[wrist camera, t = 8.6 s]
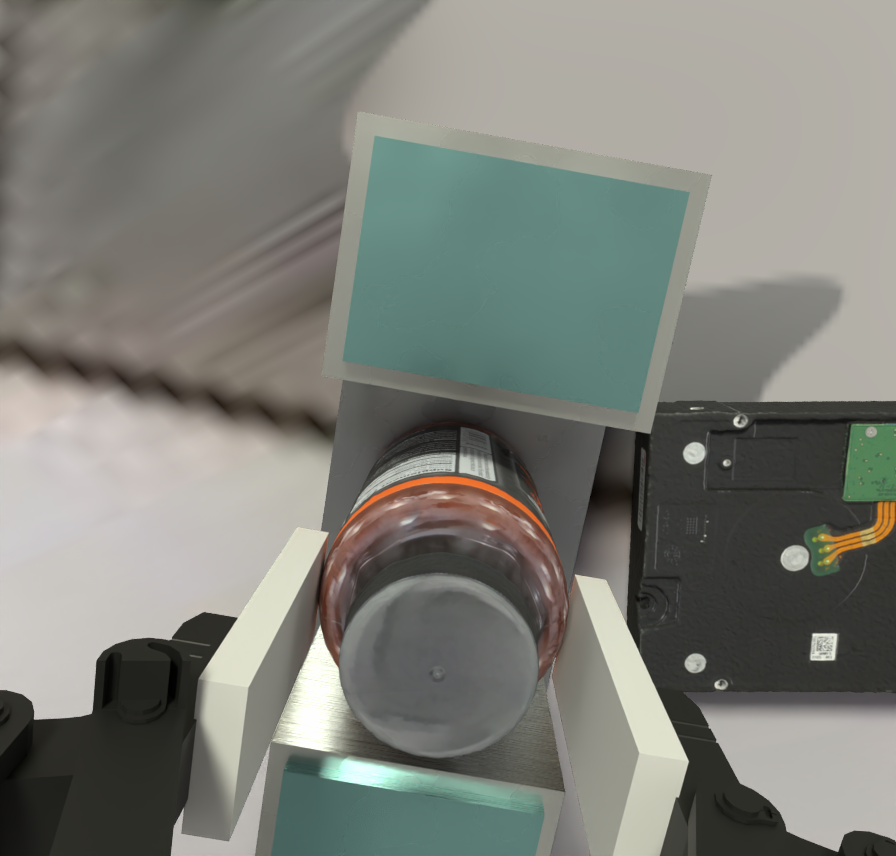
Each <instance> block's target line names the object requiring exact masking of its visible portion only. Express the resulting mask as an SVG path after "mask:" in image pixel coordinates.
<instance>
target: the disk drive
mask: <svg viewBox="0 0 896 856" xmlns="http://www.w3.org/2000/svg"><path fill="white" fill-rule="evenodd" d="M636 434H637V435H636V441H635V443H636V450H635V462H634V487H633V502H632V518H631V543H630V564H629V584H628V606H627V617H628V620H627V627H628V629H629V631H630V633H631V636H632V638H633V640H634V642H635V644H636V647H637V649H638V651H639V653H640V655H641V658H642V660H643V662H644V664H645V666H646V669H647V671H648V673H649V675H650V677H651V680H652V682H653V684H654V686H655V687H661V688H667V689H673V690H679V691H682V692H713V691H715V690H720V691H737V692H741V691H742V692H756V691H765V692H768V691H773V692H780V691H789V692H797V691H800V692H833V691H836V692H847V691H851V692H875V693H876V692H882V691H884V692H892V693H896V401H863V402H862V401H848V402H847V401H822V402H819V401H812V402H808V401H807V402H806V401H804V402H760V403H759V402H716V401H676V402H674V403H671V402H669V403H668V402H658V404H657V408H656V412H655V416H654V421H653V425H652V429H651V433H650V434H649V433H643V432H637V431H636Z"/></svg>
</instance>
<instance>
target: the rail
mask: <svg viewBox="0 0 896 856" xmlns="http://www.w3.org/2000/svg"><path fill="white" fill-rule="evenodd" d="M711 176H712V175H708V174H703V173H698V172H692V171H687V170H681V169H676V168H670V167H664V166H659V165H653V164H648V163H642V162H636V161H631V160H626V159H620V158H614V157H609V156H603V155H597V154H592V153H586V152H581V151H575V150H569V149H564V148H559V147H553V146H548V145H541V144H536V143H531V142H525V141H520V140H514V139H509V138H503V137H497V136H492V135H486V134H480V133H475V132H470V131H464V130H459V129H453V128H448V127H442V126H436V125H431V124H425V123H420V122H414V121H408V120H403V119H397V118H391V117H386V116H381V115H375V114H370V113H364V112H358V116H357V124H356V131H355V138H354V145H353V152H352V159H351V167H350V174H349V181H348V188H347V196H346V203H345V210H344V217H343V224H342V232H341V239H340V246H339V253H338V261H337V268H336V275H335V282H334V289H333V297H332V304H331V311H330V318H329V326H328V333H327V340H326V347H325V354H324V362H323V369H322V376H325V377H331V378H336V379H342V380H343V383H342V390H341V397H340V404H339V411H338V418H337V425H336V432H335V439H334V446H333V452H332V459H331V466H330V473H329V480H328V487H327V494H326V501H325V508H324V515H323V522H322V528H321V531H323V532H329V536H328V542H327V549H326V556H325V562H326V559H327V557H328V554H329V552H330V550H331V548H332V546H333V544H334V542H335V540H336V537H337V535H338V532H339V530H340V529H341V527H342V525H343V523H344V521H345V519H346V517H347V515H348V513H349V511H350V509H351V507H352V505H353V504H354V502H355V499H356V498H357V496H358V494H359V492H360V490H361V488H362V486H363V484H364V482H365V480H366V478H367V476H368V474H369V472H370V470H371V469H372V467H373V466H374V464H375V462H376V461H377V460H378V459H379V457H380V455H381V454H382V453H383V452H384V451H385V450H386V449H387V448H388V447H389V446H390V445H391V444H392V443H394V442H395V441H396V440H397V439H399V438H400V437H402V436H403V435H405V434H407V433H408V432H410V431H412V430H414V429H417V428H420V427H423V426H426V425H430V424H435V423H443V422H455V423H463V424H468V425H473V426H476V427H479V428H481V429H484V430H486V431H488V432H491V433H493V434H494V435H496V436H497V437H499V438H501V439H502V440H504V441H505V442H506V443H507V444H508V445H509V446H510V447H511V448H512V449H513V450H514V451H515V452H516V453H517V454H518V456H519V457H520V459H521V460H522V462H523V463H524V464H525V466H526V468H527V470H528V472H529V473H530V475H531V477H532V479H533V482H534V484H535V486H536V488H537V493H538V496H539V499H540V501H541V505H542V509H543V511H544V515H545V518H546V519H547V522H548V525H549V528H550V531H551V533H552V537H553V539H554V542H555V545H556V549H557V551H558V555H559V559H560V561H561V564H562V567H563V570H564V574H565V578H566V582H567V593H569V588H570V584H571V579H572V575H573V570H574V566H575V561H576V557H577V552H578V548H579V543H580V539H581V534H582V530H583V526H584V521H585V517H586V512H587V508H588V503H589V499H590V494H591V490H592V485H593V481H594V476H595V472H596V468H597V463H598V459H599V454H600V450H601V445H602V441H603V436H604V432H605V427H606V426H609V427H615V428H620V429H626V430H632V431H637V432H643V433H649V434H650V433H651V429H652V425H653V421H654V416H655V412H656V408H657V404H658V400H659V395H660V391H661V387H662V383H663V379H664V374H665V370H666V366H667V362H668V358H669V353H670V349H671V345H672V341H673V337H674V332H675V328H676V324H677V320H678V315H679V311H680V307H681V303H682V299H683V294H684V290H685V286H686V282H687V277H688V273H689V269H690V265H691V261H692V257H693V252H694V248H695V244H696V239H697V236H698V231H699V227H700V223H701V218H702V215H703V210H704V206H705V202H706V197H707V193H708V189H709V185H710V181H711ZM324 565H325V563H324ZM552 664H553V663H552ZM551 668H552V665H551V666H550V668H549V669H548V671H547V672H546V674H545V675H544V676H543V677H542V678H541V679H540V681H539V682H538V683H537V687H536V692H535V695H534V697H533V700H532V702H531V705H530V707H529V709H528V710H527V712H526V713H525V715H524V716H523V718H522V720H521V721H520V722H519V723H518V725H517V726H516V727H515V728H514V729H513V730H512V731H511V732H510V733H508V734H507V735H505V736H504V737H503V738H502V739H501V740H500V741H498V742H496V743H494V744H493V745H491V746H489V747H486V748H485V749H483V750H481V751H478V752H474V753H471V754H469V755H463V756H459V757H452V758H437V759H436V758H429V757H422V756H416V755H412V754H409V753H406V752H402V751H400V750H398V749H395V748H393V747H391V746H389V745H388V744H386V743H384V742H382V741H381V740H379V739H378V738H376V737H375V736H374V735H373V734H372V733H371V732H370V731H368V730H367V729H366V728H365V727H364V725H363V724H362V723H361V722H360V721H358V719H357V718H356V717H355V715H354V714H353V712H352V711H351V709H350V707H349V705H348V703H347V701H346V698H345V696H344V693H343V690H342V687H341V684H340V678H339V668H338V667H337V665H336V664H335V662H334V661H333V658H332V656H331V654H330V653H329V651H328V649H327V646H326V644H325V641H324V638H323V633H322V630H321V625H320V618H319V607H318V612H317V618H316V625H315V632H314V637H313V640H312V642H311V644H310V647H309V649H308V652H307V654H306V657H305V659H304V661H303V664H302V667H301V672H300V674H299V676H298V679H297V681H296V684H295V686H294V688H293V691H292V693H291V695H290V698H289V700H288V703H287V705H286V707H285V710H284V712H283V714H282V717H281V719H280V721H279V724H278V726H277V729H276V731H275V733H274V736H273V738H272V740H271V745H270V752H269V759H268V766H267V774H266V781H265V788H264V795H263V803H262V810H261V817H260V824H259V831H258V839H257V846H256V853H255V856H550V854H551V850H552V845H553V841H554V837H555V833H556V829H557V824H558V820H559V816H560V812H561V808H562V803H563V799H564V795H565V789H564V783H563V778H562V773H561V768H560V762H559V757H558V752H557V746H556V741H555V736H554V731H553V725H552V720H551V715H550V709H549V704H548V699H547V694H546V691H547V686H548V682H549V677H550V673H551Z"/></svg>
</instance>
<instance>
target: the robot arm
mask: <svg viewBox="0 0 896 856" xmlns="http://www.w3.org/2000/svg"><path fill="white" fill-rule="evenodd" d="M328 536H329V532H323V531H317V530H311V529H305V528H300V527H297V529H296V530H295V532H294V533H293V535H292V536H291V538H290V539H289V541H288V542H287V544H286V545H285V547H284V548H283V550H282V552H281V553H280V555H279V556H278V558H277V559H276V561H275V562H274V564H273V565H272V567H271V568H270V570H269V571H268V573H267V574H266V576H265V578H264V579H263V581H262V582H261V584H260V585H259V587H258V588H257V590H256V591H255V593H254V594H253V596H252V597H251V599H250V601H249V602H248V604H247V605H246V607H245V608H244V610H243V611H242V613H241V614H240V616H239V617H238V618H235V617H229V616H224V615H218V614H212V613H206V612H203V613H201V614H199V615H198V616H196V617H194V618H192V619H190V620H188V621H186V622H184V623H183V624H182V626H181V627H180V628H179V629H178V631H177V632H176V633H175V634H174V636H173V637H172V640H170V641H168V640H164V639H155V638H142V639H131V640H128V641H125V642H121V643H118V644H115V645H113V646H112V647H110V648H108V649H107V650H105V651H103V653H102V654H101V655H100V657H99V658H98V659H97V662H96V676H95V689H94V703H93V711H92V714H90V715H86V716H82V717H73V718H62V719H41V720H34V709H33V705H32V702H31V701H30V700H29V699H27V698H26V697H25V696H23V695H22V694H18V693H15V692H11V691H7V690H0V856H171V847H172V837H173V828H174V825H175V823H176V821H177V819H178V817H179V816H180V814H181V812H182V810H183V808H184V814H183V823H182V833H181V834H187V835H193V836H199V837H205V838H211V839H217V840H223V841H230V838H231V836H232V833H233V831H234V828H235V826H236V824H237V821H238V819H239V816H240V814H241V812H242V809H243V807H244V804H245V802H246V799H247V797H248V795H249V792H250V790H251V787H252V785H253V782H254V780H255V778H256V775H257V773H258V770H259V768H260V766H261V763H262V761H263V758H264V756H265V753H266V751H267V749H268V746H269V744H270V741H271V739H272V736H273V734H274V732H275V729H276V727H277V724H278V722H279V719H280V717H281V715H282V712H283V710H284V707H285V705H286V703H287V700H288V698H289V695H290V693H291V690H292V688H293V686H294V683H295V681H296V678H297V676H298V673H299V671H300V669H301V666H302V664H303V661H304V659H305V657H306V654H307V652H308V649H309V647H310V644H311V642H312V640H313V637H314V632H315V625H316V618H317V612H318V597H319V588H320V582H321V577H322V573H323V569H324V563H325V556H326V549H327V542H328ZM552 679H553V683H554V688H555V693H556V697H557V702H558V707H559V711H560V716H561V721H562V725H563V730H564V735H565V739H566V744H567V749H568V753H569V758H570V763H571V767H572V772H573V777H574V781H575V786H576V791H577V795H578V800H579V805H580V809H581V814H582V819H583V823H584V828H585V833H586V837H587V842H588V847H589V851H590V856H896V842H895V840H892V839H890V838H888V837H885V836H881V835H878V834H875V833H872V832H866V831H852V832H850V833H848V834H845V835H844V837H843V840H842V843H841V846H840V849H839V852H836V851H833V850H830V849H828V848H825V847H823V846H820V845H817V844H815V843H812V842H810V841H807V840H805V839H802V838H800V837H797V836H795V835H793V834H791V833H789V832H787V831H786V826H785V823H784V821H783V819H782V817H781V814H780V812H779V811H778V810H777V809H776V808H775V807H774V806H773V805H772V804H771V803H770V801H769V800H767V799H766V798H764V797H763V796H761V795H760V794H759V793H757V792H756V791H754V790H752V789H750V788H748V787H746V786H744V785H742V784H740V783H739V781H738V779H737V777H736V776H735V774H734V772H733V770H732V768H731V766H730V764H729V763H728V761H727V759H726V757H725V755H724V753H723V751H722V749H721V748H720V746H719V744H718V743H716V738H715V736H714V735H713V733H712V731H711V729H709V728H708V726H709V725H708V723H707V721H706V720H705V718H704V716H703V714H702V712H701V710H700V708H699V707H698V706H697V705H696V704H695V703H693V702H692V701H691V700H690V699H689V698H688V697H687V696H686V695H685V694H684V693H683V692H682V691H679V690H673V689H667V688H661V687H655V686H654V684H653V682H652V680H651V677H650V675H649V673H648V671H647V669H646V666H645V664H644V662H643V660H642V658H641V655H640V653H639V651H638V649H637V647H636V644H635V642H634V640H633V638H632V636H631V633H630V631H629V629H628V627H627V625H626V623H625V620H624V618H623V616H622V614H621V612H620V609H619V607H618V605H617V603H616V601H615V598H614V596H613V594H612V592H611V590H610V587H609V585H608V583H607V581H606V580H604V579H598V578H592V577H586V576H580V575H575V576H574V581H573V585H572V590H571V594H570V598H569V609H568V618H567V626H566V630H565V634H564V637H563V643H562V644H561V646H560V649H559V651H558V653H557V656H556V661H555V665H554V670H553V674H552Z"/></svg>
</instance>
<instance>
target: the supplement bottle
mask: <svg viewBox="0 0 896 856" xmlns="http://www.w3.org/2000/svg"><path fill="white" fill-rule="evenodd" d="M318 607H319V618H320V625H321V630H322V633H323V638H324V641H325V644H326V646H327V649H328V651H329V653H330V654H331V656H332V658H333V661H334V662H335V664H336V665H337V667H338V668H339V678H340V684H341V687H342V690H343V693H344V696H345V698H346V701H347V703H348V705H349V707H350V709H351V711H352V712H353V714H354V715H355V717H356V718H357V719H358V721H360V722H361V723H362V724H363V725H364V727H365V728H366V729H367V730H368V731H370V732H371V733H372V734H373V735H374V736H375V737H376V738H378V739H379V740H381V741H382V742H384V743H386V744H388V745H389V746H391V747H393V748H395V749H398V750H400V751H402V752H406V753H409V754H412V755H416V756H422V757H429V758H436V759H437V758H452V757H459V756H463V755H469V754H471V753H474V752H478V751H481V750H483V749H485V748H486V747H489V746H491V745H493V744H494V743H496V742H498V741H500V740H501V739H502V738H503V737H504V736H505V735H507V734H508V733H510V732H511V731H512V730H513V729H514V728H515V727H516V726H517V725H518V723H519V722H520V721H521V720H522V718H523V716H524V715H525V713H526V712H527V710H528V709H529V707H530V705H531V702H532V700H533V697H534V695H535V692H536V687H537V683H538V682H539V681H540V679H541V678H542V677H543V676H544V675H545V674H546V672H547V671H548V669H549V668H550V666H551V665H552V663H553V661H554V658H555V657H556V655H557V653H558V651H559V649H560V646H561V644H562V643H563V637H564V634H565V630H566V626H567V618H568V609H569V600H568V593H567V582H566V578H565V574H564V570H563V567H562V564H561V561H560V559H559V555H558V551H557V549H556V545H555V542H554V539H553V537H552V533H551V531H550V528H549V525H548V522H547V519H546V518H545V515H544V511H543V509H542V505H541V501H540V499H539V496H538V493H537V488H536V486H535V484H534V482H533V479H532V477H531V475H530V473H529V472H528V470H527V468H526V466H525V464H524V463H523V462H522V460H521V459H520V457H519V456H518V454H517V453H516V452H515V451H514V450H513V449H512V448H511V447H510V446H509V445H508V444H507V443H506V442H505V441H504V440H502V439H501V438H499V437H497V436H496V435H494V434H493V433H491V432H488V431H486V430H484V429H481V428H479V427H476V426H473V425H468V424H463V423H455V422H443V423H435V424H430V425H426V426H423V427H420V428H417V429H414V430H412V431H410V432H408V433H407V434H405V435H403V436H402V437H400V438H399V439H397V440H396V441H395V442H394V443H392V444H391V445H390V446H389V447H388V448H387V449H386V450H385V451H384V452H383V453H382V454H381V455H380V457H379V459H378V460H377V461H376V462H375V464H374V466H373V467H372V469H371V470H370V472H369V474H368V476H367V478H366V480H365V482H364V484H363V486H362V488H361V490H360V492H359V494H358V496H357V498H356V499H355V502H354V504H353V505H352V507H351V509H350V511H349V513H348V515H347V517H346V519H345V521H344V523H343V525H342V527H341V529H340V530H339V532H338V535H337V537H336V540H335V542H334V544H333V546H332V548H331V550H330V552H329V554H328V557H327V559H326V562H325V565H324V569H323V573H322V577H321V582H320V588H319V597H318Z"/></svg>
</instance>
